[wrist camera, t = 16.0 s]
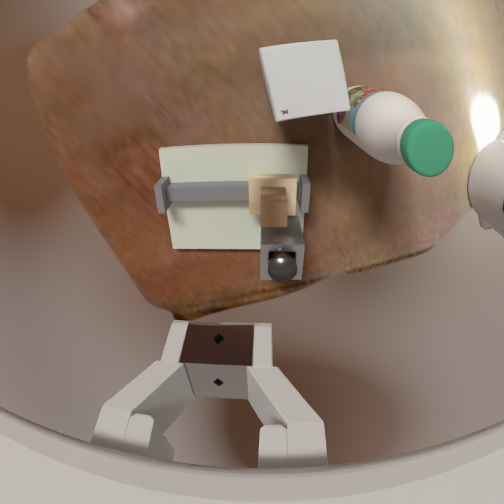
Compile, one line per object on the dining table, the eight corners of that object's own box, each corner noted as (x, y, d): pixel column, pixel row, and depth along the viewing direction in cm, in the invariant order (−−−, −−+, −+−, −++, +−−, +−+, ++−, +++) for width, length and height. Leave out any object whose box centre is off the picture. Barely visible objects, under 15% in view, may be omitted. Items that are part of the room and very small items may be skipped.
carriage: (294, 171, 39) (301, 194, 32) (293, 205, 42) (299, 234, 35) (249, 171, 39) (246, 194, 33) (250, 205, 42) (247, 234, 35)
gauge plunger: (292, 226, 43) (298, 258, 36) (291, 247, 45) (296, 282, 38) (267, 225, 43) (267, 258, 36) (267, 247, 45) (267, 282, 38)
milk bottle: (394, 122, 36) (480, 168, 19) (351, 149, 39) (412, 213, 22) (366, 75, 33) (448, 85, 16) (320, 103, 35) (370, 131, 19)
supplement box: (326, 101, 35) (352, 113, 25) (270, 109, 36) (273, 124, 26) (316, 49, 31) (339, 38, 21) (258, 57, 32) (256, 48, 22)
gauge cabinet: (297, 212, 44) (304, 244, 37) (295, 245, 47) (301, 281, 40) (261, 211, 44) (260, 244, 37) (261, 245, 48) (260, 281, 40)
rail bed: (307, 144, 39) (312, 153, 35) (300, 245, 47) (304, 263, 43) (161, 147, 39) (149, 156, 35) (175, 244, 48) (167, 261, 44)
